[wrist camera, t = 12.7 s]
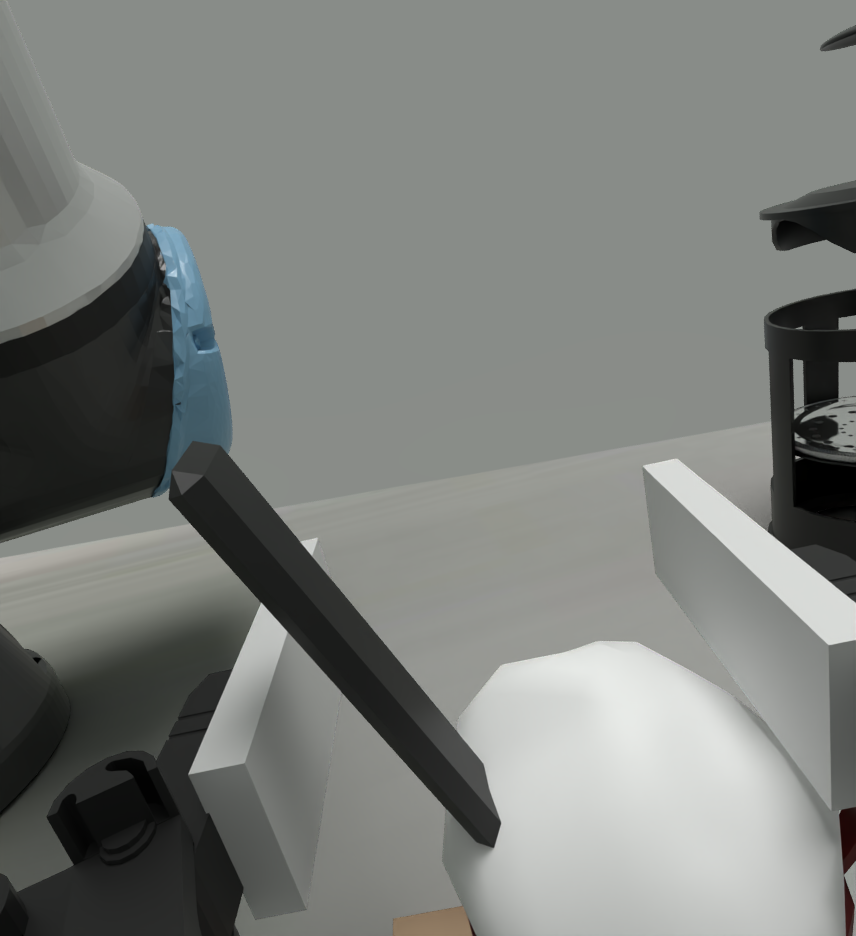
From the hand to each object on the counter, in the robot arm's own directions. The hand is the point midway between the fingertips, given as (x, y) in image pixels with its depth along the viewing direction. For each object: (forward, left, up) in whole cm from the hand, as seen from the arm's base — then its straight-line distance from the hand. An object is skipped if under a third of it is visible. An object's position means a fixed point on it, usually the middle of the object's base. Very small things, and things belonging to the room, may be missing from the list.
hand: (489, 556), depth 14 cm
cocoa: (+5, +1, -7) cm, 9 cm away
